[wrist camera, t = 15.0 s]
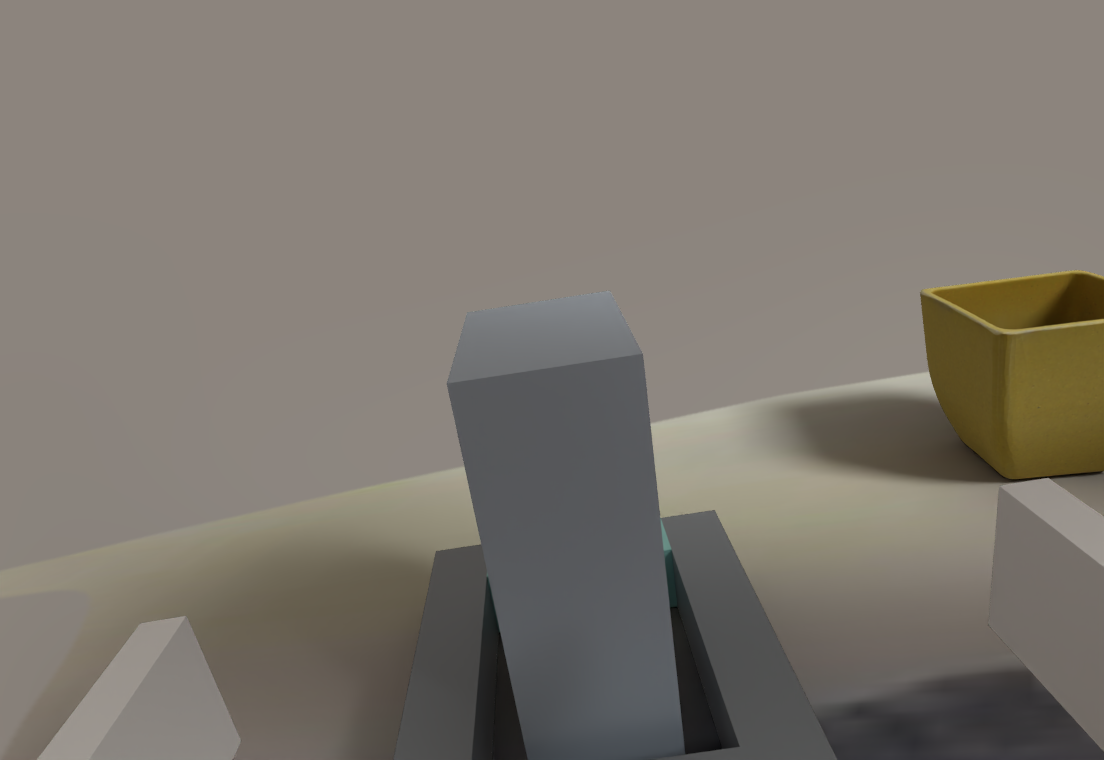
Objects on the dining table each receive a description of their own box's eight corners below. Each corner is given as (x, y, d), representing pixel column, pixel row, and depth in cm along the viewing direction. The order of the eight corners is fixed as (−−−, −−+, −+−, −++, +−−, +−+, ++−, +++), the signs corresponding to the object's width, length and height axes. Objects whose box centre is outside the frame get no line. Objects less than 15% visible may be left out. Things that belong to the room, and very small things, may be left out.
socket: (718, 564, 33) (714, 510, 32) (863, 892, 19) (864, 814, 18) (448, 603, 33) (436, 551, 32) (393, 957, 19) (367, 884, 18)
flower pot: (910, 430, 42) (916, 286, 39) (1063, 414, 41) (1081, 266, 38) (986, 506, 34) (1000, 333, 31) (1178, 488, 33) (1213, 308, 30)
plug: (647, 619, 30) (606, 284, 25) (688, 783, 23) (642, 353, 17) (533, 636, 30) (469, 305, 25) (537, 805, 23) (446, 383, 18)
